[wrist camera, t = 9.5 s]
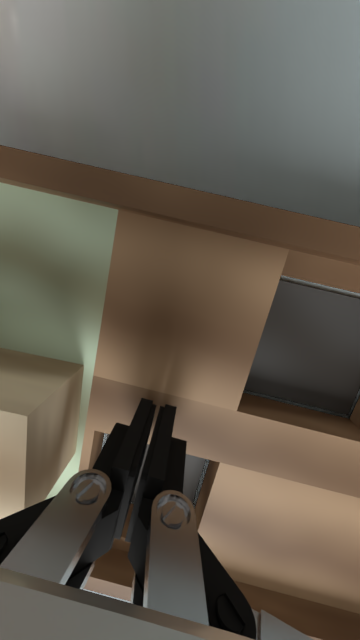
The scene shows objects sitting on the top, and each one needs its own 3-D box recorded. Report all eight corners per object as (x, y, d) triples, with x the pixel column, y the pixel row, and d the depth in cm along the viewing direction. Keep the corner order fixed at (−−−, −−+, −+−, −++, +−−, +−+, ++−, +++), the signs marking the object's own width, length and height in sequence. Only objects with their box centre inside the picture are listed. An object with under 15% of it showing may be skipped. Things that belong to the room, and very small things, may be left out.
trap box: (-11, 161, 12) (-155, 96, 7) (579, 297, 11) (863, 326, 6) (-21, 487, 17) (-110, 579, 12) (388, 596, 16) (468, 739, 11)
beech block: (-17, 344, 12) (-120, 384, 8) (83, 365, 12) (27, 416, 8) (-16, 431, 13) (-105, 502, 9) (75, 452, 13) (23, 532, 9)
